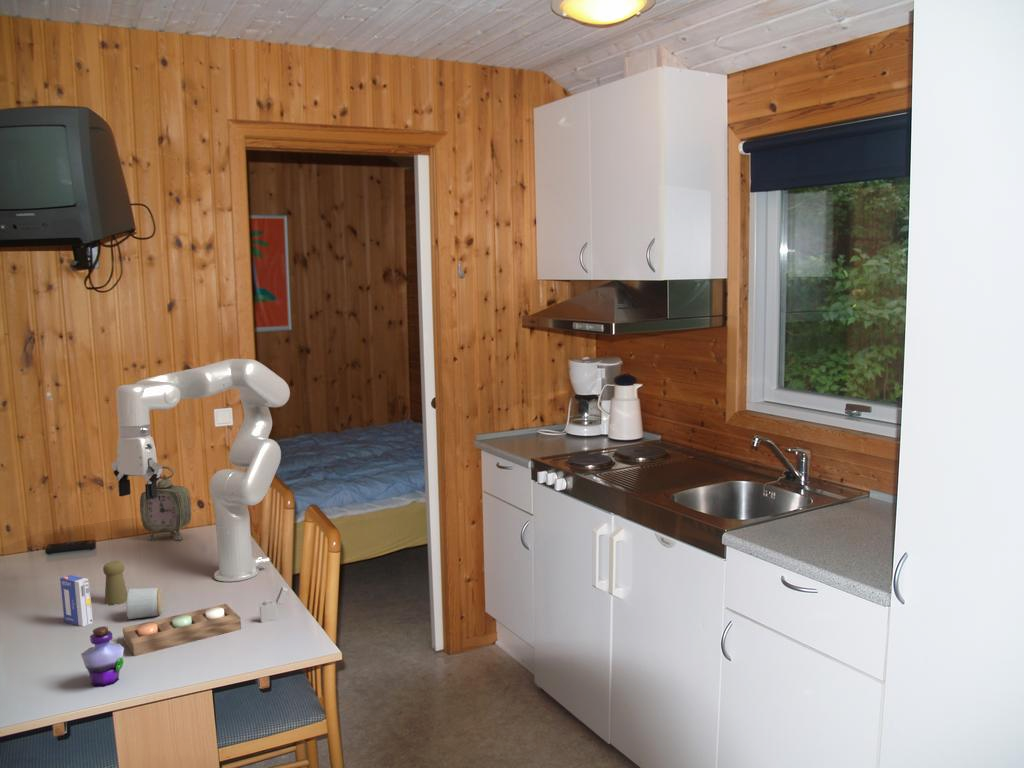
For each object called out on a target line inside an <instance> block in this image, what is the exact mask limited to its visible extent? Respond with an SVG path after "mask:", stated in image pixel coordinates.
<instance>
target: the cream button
mask: <svg viewBox="0 0 1024 768" xmlns="http://www.w3.org/2000/svg"><path fill="white" fill-rule="evenodd" d="M220 617H224V609H223V608H212V609H209V610H207V611H206V619H207V620H211V619H215V618H220Z"/></svg>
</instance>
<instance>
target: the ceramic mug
mask: <svg viewBox="0 0 1024 768" xmlns="http://www.w3.org/2000/svg"><path fill="white" fill-rule="evenodd" d="M163 600H164V596H163V591H162V589H161V588H160V587H148V588H146V587H145V588H144V587H143V588H129V589H128V590H127V602H126V604H125V605H126V616H127V619H128V620H136V619H143V618H151V617H157V616H160V615H161V614H162V612H163V606H164V601H163Z"/></svg>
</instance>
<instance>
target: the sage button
mask: <svg viewBox="0 0 1024 768" xmlns="http://www.w3.org/2000/svg"><path fill="white" fill-rule="evenodd" d="M172 623H173V628H178V627H182V626H187V625H191V624H192V620H191V616H188V615H183V616H178V617H175V618H174V619H173V620H172Z"/></svg>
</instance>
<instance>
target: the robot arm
mask: <svg viewBox="0 0 1024 768" xmlns="http://www.w3.org/2000/svg"><path fill="white" fill-rule="evenodd" d="M232 389H238V396H239V400H240V401H241V404H242V407H243V413H244V414H243V416H244V417H243V421H242V423H241V427H240V429H239V431H238V432H237V435H236V437H235V440H234V441H233V444H232V446H231V448H230V450H229V454H228V459H229V461H230V463H231V464H232V465H233V466H234V467H237V468H241V469H244V470H241V469H232V468H227V469H225V468H224V469H221V470H218V471H217V472H215V473H214V474H213V475H212V477H211V479H210V482H209V493H210V494H209V495H210V498H211V501H212V504H213V509H214V510H213V511H214V518H215V531H216V543H217V544H216V545H217V558H218V570H217V569H216V571H214V573H213V578H214V579H215V580H217V581H219V582H239V581H245V580H248V579H252V578H253V577H255V576H257V575H258V574H259V573H260V570H259V569H260V568H259V566H260V565H266V564H267V565H268V564H270V558H269V556H265V557H262V556H259V557H254V556H253V549H252V548H253V547H252V534H251V519H250V516H251V515H250V512H249V509H248V506H255V505H257V504H259V503H261V502H262V501H263V499H264V498H265V497H266V496H267V493H268V491H269V489H270V487H271V485H272V482H273V479H274V478H275V475H276V473H277V471H278V468H279V467H280V464H281V459H282V451H281V447H280V445H279V444H278V442H277V441H276V440H274V439H271V438H269V436H270V434H271V431H272V427H273V419H272V415H271V411H270V408H281V407H283V406H284V405H285V404H286V403H287V402H288V401H289V399H290V396H291V392H290V387H289V384H288V383H287V382H286V380H284V379H283V378H282V377H280V376H279V375H278V374H276V373H275V372H274V371H272V370H271V369H270V368H269V367H267V366H266V365H264V364H263V363H261V362H260V361H258V360H255V359H252V358H229V359H224V360H221V361H217V362H212V363H210V364H207V365H203V366H199V367H195V368H189V369H185V370H179V371H174V372H170V373H164V374H161V375H155V376H151V377H148V378H145V379H141V380H138V381H136V382H135V383H131V384H123V385H120V386H118V387H117V389H116V407H117V422H118V439H117V449H116V451H117V452H116V460H115V461H113V462H111V464H110V466H111V468H112V471H113V475H114V476H115V478H116V479H115V480H116V482H118V485H117V486H118V496H119V497H124V496H129V495H131V494H132V493H131V480H130V479H129V478H130V476H131V477H143V479H144V480H145V482H146V483H145V486H144V488H145V491H146V499H152V498H156V497H157V484H158V482H159V481H160V477H162V475H161V474H162V473H163V469H164V468H162V465H160V464H159V463H158V457H157V450H156V446H155V442H154V437H153V436H151V432H152V430H151V424H150V423H151V421H150V420H151V419H150V411H152V410H153V411H155V410H157V411H165V410H171V409H173V408H175V407H176V406H177V405H178V403H179V402H180V401H181V400H183V399H185V400H187V399H188V400H189V399H193V400H194V399H202V398H206V397H207V398H208V397H210V396H214V395H215V394H216V395H217V394H219V393H223V392H225V391H228V390H229V391H230V390H232ZM245 469H247V470H245Z"/></svg>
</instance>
